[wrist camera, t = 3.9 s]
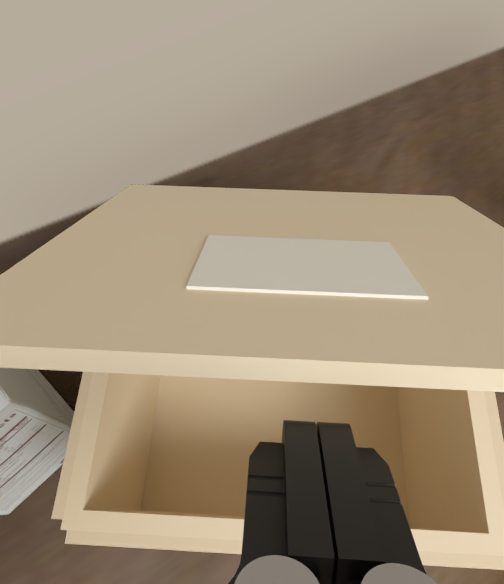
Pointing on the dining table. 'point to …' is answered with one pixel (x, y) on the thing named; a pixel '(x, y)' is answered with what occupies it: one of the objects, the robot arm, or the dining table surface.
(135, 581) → the dining table surface
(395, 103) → the dining table surface
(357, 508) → the robot arm
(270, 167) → the dining table surface
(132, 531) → the carton
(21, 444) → the supplement box
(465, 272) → the top flap
